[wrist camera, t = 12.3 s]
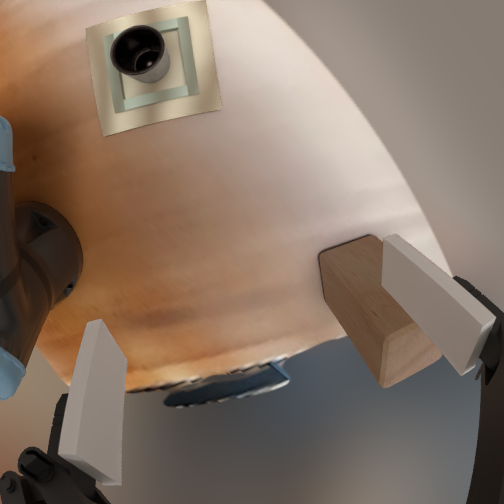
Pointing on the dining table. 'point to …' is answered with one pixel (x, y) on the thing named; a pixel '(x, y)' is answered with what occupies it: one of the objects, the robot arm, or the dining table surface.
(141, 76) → the grey hollow tube
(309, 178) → the dining table surface
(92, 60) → the stand
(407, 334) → the block
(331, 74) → the dining table surface
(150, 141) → the dining table surface
